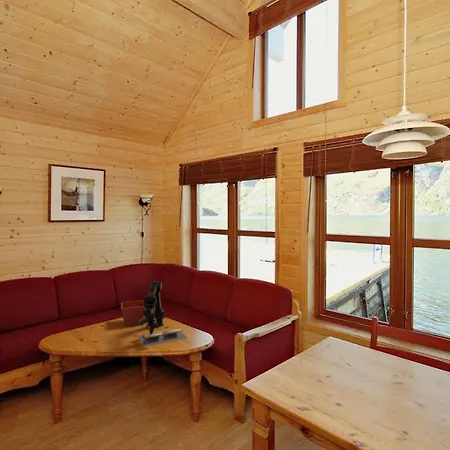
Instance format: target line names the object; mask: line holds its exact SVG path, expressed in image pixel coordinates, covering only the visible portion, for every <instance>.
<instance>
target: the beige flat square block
mask: <svg viewBox="0 0 450 450" xmlns="http://www.w3.org/2000/svg"><path fill="white" fill-rule="evenodd" d="M179 331H181V328H175V330H169V331H167V332H165V333H164V336H165V335H170V334H175V333H178V332H179ZM181 332H182V331H181Z"/></svg>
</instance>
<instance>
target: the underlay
mask: <svg viewBox="0 0 450 450" xmlns="http://www.w3.org/2000/svg"><path fill="white" fill-rule="evenodd" d="M137 337H138V339H139V340H140V342H141V343H142V345H143V347H145V348H146V347H151V346H155V345H161V344H165V343H172V342H174V341H180V340H185V339H188V337H187V335H186V334H184V333H183V332H182V331H179V332H178V333H175V334H170V335H165V336H164V335H162V336H159V337H155V338H150V339H145V338H144V337H143V334H142V335H138V336H137Z"/></svg>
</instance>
